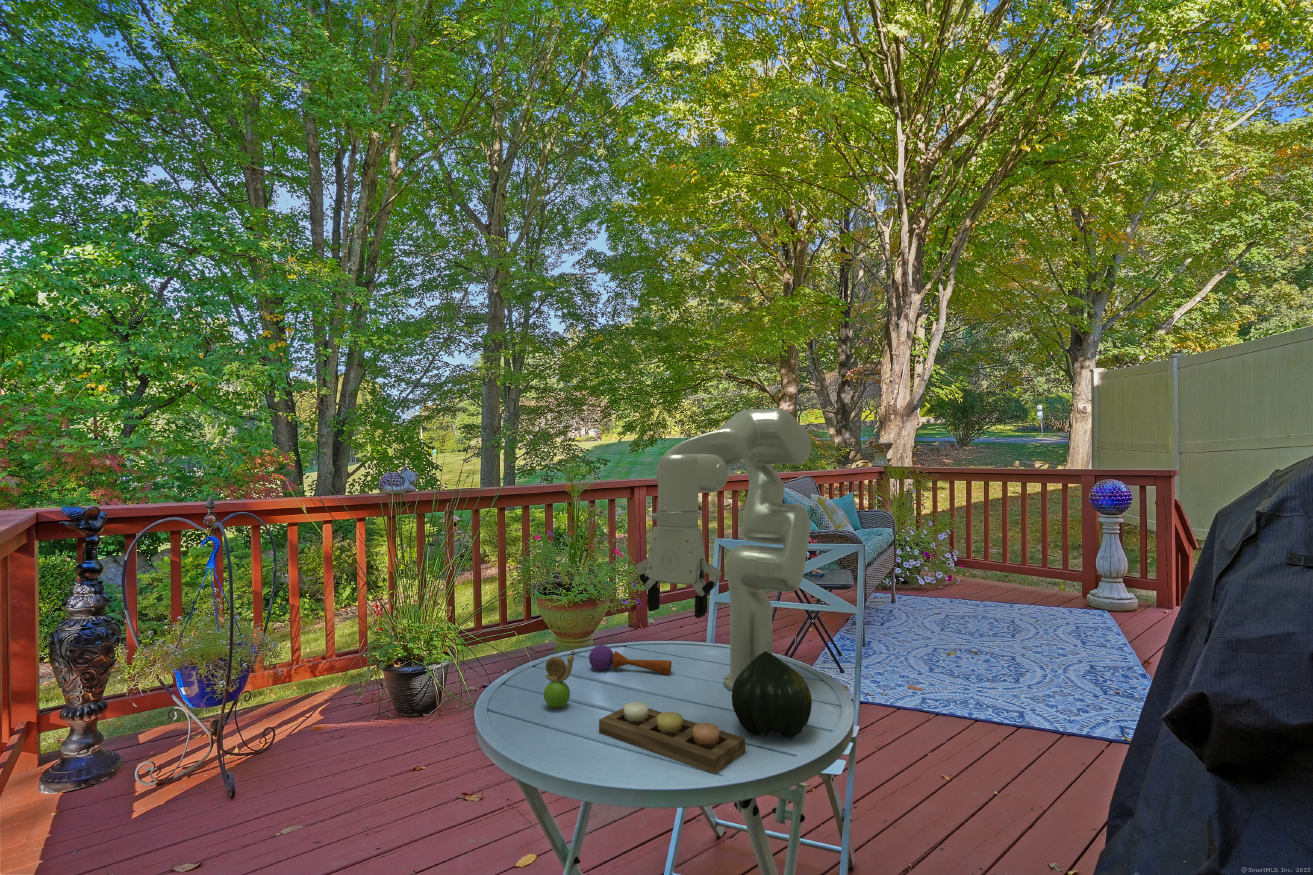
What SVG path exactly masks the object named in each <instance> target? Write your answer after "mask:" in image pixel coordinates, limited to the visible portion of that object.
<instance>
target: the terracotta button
mask: <svg viewBox="0 0 1313 875" xmlns="http://www.w3.org/2000/svg"><path fill="white" fill-rule="evenodd" d="M719 730H720V727H719V726H718V725H717V724H715V723H710V722H700V723H698V724H696V725H694V727H693V739H694V741H696V742H697V743H700V744H714V743H716V742H718V741H719Z"/></svg>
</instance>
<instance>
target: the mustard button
mask: <svg viewBox="0 0 1313 875" xmlns="http://www.w3.org/2000/svg"><path fill="white" fill-rule="evenodd" d="M682 719H683V715H682V714H681V713H678V712H675V711H666V712H662V713H661V714H659V715H658V716H657V728H658V729H659V730H661V731H664V732H676V731H679V730H681V729H682Z"/></svg>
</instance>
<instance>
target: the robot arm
mask: <svg viewBox="0 0 1313 875" xmlns="http://www.w3.org/2000/svg"><path fill="white" fill-rule="evenodd" d="M811 452H812V443H811V438H810V436H809V434H808V432H807V431H806V429H805V428H804V427H803V425H802V424H801V423H800V422H799V421H798V420H797V419H796V417H794V416H793V415H792V414H791V413H790V412H788V411H787V410H785V409H782V408H775V407H774V408H752V409H750V408H749V409H743V410H740V411H738V412H737V413H735V414H734V415H733V416H731V417H730V418H729V419H728V420H727V421H726V422H724V423H723V424H722V425H721V426H719V427H718V428H716V429H715V430H711V431H709V432H705V433H703V434H700V435H697V436H694V437H692V438H688V439H686V440H684V441H682V442H679V443H678V444H675V445H674V446H672V447H671V448H670V449H668V450H667V451H666V452H665V453H664V454H663V455H661V456H660V458H659V460H658V463H657V465H656V471H655V472H656V473H655V476H656V479H657V510H656V512H653V513H652V516H651V519H652V520H653V521H656V524H657V526H653V528H652V532H651V537H650V540H649V541H650V542H649V549H648V558H646V559H644V560H642V561H640V562H637V563H636V564H635V569H636V572H637V574H638V575H639V577H638V578H639V580H640V581H641V583H643V585H644V588H645V590H646V592H647V593H646V594H647V596H646V598H647V599H646V600H647V601H646V602H647V603H646V605H647V607H648V608H647V609H648V612H654V611H657V610H659V609H660V607H661V606H660V604H661V603H660V601H661V600H660V597H661V596H660V595H661V594H660V593H661V592H660V587H658V585H659V584H660V583H665V584H674V585H684V586H692V587H693V589H694V590H695V592H696V593H697V595H695V596H694V617H695V619H701V618H703V617H705V616H706V614H707V612H708V594H710V593H711V591H712V590H713V589H714V588H715V587H717V583H718V582H719V581H720V578H721V576H722V571H721V570H719V569H717V568H715V566H713V565H711V563H709V562H707V561H706V555H705V545H704V538H703V532H702V529H701V528H700V527H699V493H705V494H707V493H716V492H719V491H720V490H722V489H723V488H724V487H725V486H726V485H727V482H728V480H729V467H731V466H734V465H736V464H739V463H740V462H741V461H743V464H744V467H745V470H746V473H747V478H748V489H747V495H746V500H745V504H744V508H743V509H744V510H743V514H742V518H741V523H740V524H741V525H740V529H741V534H742V536H743V538H744V539H745V540H747V541H749V542H753V543H760V544H768V545H769V544H770V545H779V546H780V545H781V546H783V547H774V546H773V547H772V546H765V545H755V544H754V545H752V544H751V545H750V544H742V545H737V546H735V547H733V548H731V549H730V550H729V552H728V553H727V555H726V558H725V573H726V579H727V584H728V591H729V605H730V606H729V621H730V622H729V632H730V633H729V649H730V650H729V657H730V660H729V661H730V662H729V664H730V665H729V666H730V669H729V673H727V674H726V675H725V676H724V677H723V685H724V687H726V689H729V690H730V691H732V689H733V684H734V682H735V680H736V678H737V677H738V675H739V674H740V673H741V672H742V671H743V669H744V668H746V667H747V666H748V665H749V664H750V663H751V662H752V661H753V660H754V659H755V658H756V657H757V656H758V655H759V654H761V653H763V652H764V651H767V652H768V653H770V654H772V655H773V607H772V604H771V601H770V599H769V597H768V595H767V593H766V592H765V590H767V591H775V592H782V593H785V592H786V593H791V592H796V591H797V590H798V589H799V587H800V586H801V584H802V581H803V578H804V573H805V572H804V571H805V565H806V561H807V560H806V558H807V553H808V547H809V541H810V537H811V536H810V535H811V534H810V533H811V520H810V514H809V513H808V511H807V509H806V508H805V507H804V506H802V505H799V504H795V503H783V501H784V500H783V499H784V495H785V485H784V482H783V480H782V478H781V477H780V476H779V474H778V472H776V470H775V469H774V468H773V466H772V465H800V464H803V463H806V462H807V460H808V459H809V457H810V455H811ZM706 573H707V574H709V579H708V581H707V582H706V581H705V576H706Z"/></svg>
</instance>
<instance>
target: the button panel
mask: <svg viewBox="0 0 1313 875" xmlns="http://www.w3.org/2000/svg"><path fill="white" fill-rule="evenodd" d="M661 713H663V712H662V711H659V710H655V709H652V708H649V707H648V718H646V719H644V720H641V721H631V720H627V719H626V718H625V717H624V707H622V708H620V709H618V710H616V711H614V712H612V713H610V714H608V715H606V716H604V717H601V718H599V719H598V734H600V735H601V734H602V735H603V736H604V735H605V736H607V737H609V738H613V739H615V740H618V741H621V742H624V743H627V744H629V745H633V746H635V747H638V748H640V749H644V750H647V751H649V752H651V753H654V754H657V755H661V756H663V757H666V758H669V759H670V760H671V759H672V760H674V761H676V762H679V763H682V764H685V765H689V766H691V767H694V768H697V769H699V770H702V771H705V772H707V773H709V774H713V775H716V774H717V773H718V772H720V771H721V770H722V769H724V768H726V767H727V766H728V765H730V764H732V762H734V761H736V759H737V760H738V758H740V757H741V756H742V755H744V754H745V753H746V737H743V736H739V735H737V734H734V733H731V732H727V731H724V730H721V729H719V741H718V742H716V743H714V744H700V743H697V742H696V741H694V739H693V727H694V725H696V724H699V723H698V722H695V721H691V720H688V719H685V718H682V729H681V730H679V731H676V732H664V731H661V730H659V729H658V728H657V716H658V715H659V714H661Z"/></svg>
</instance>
